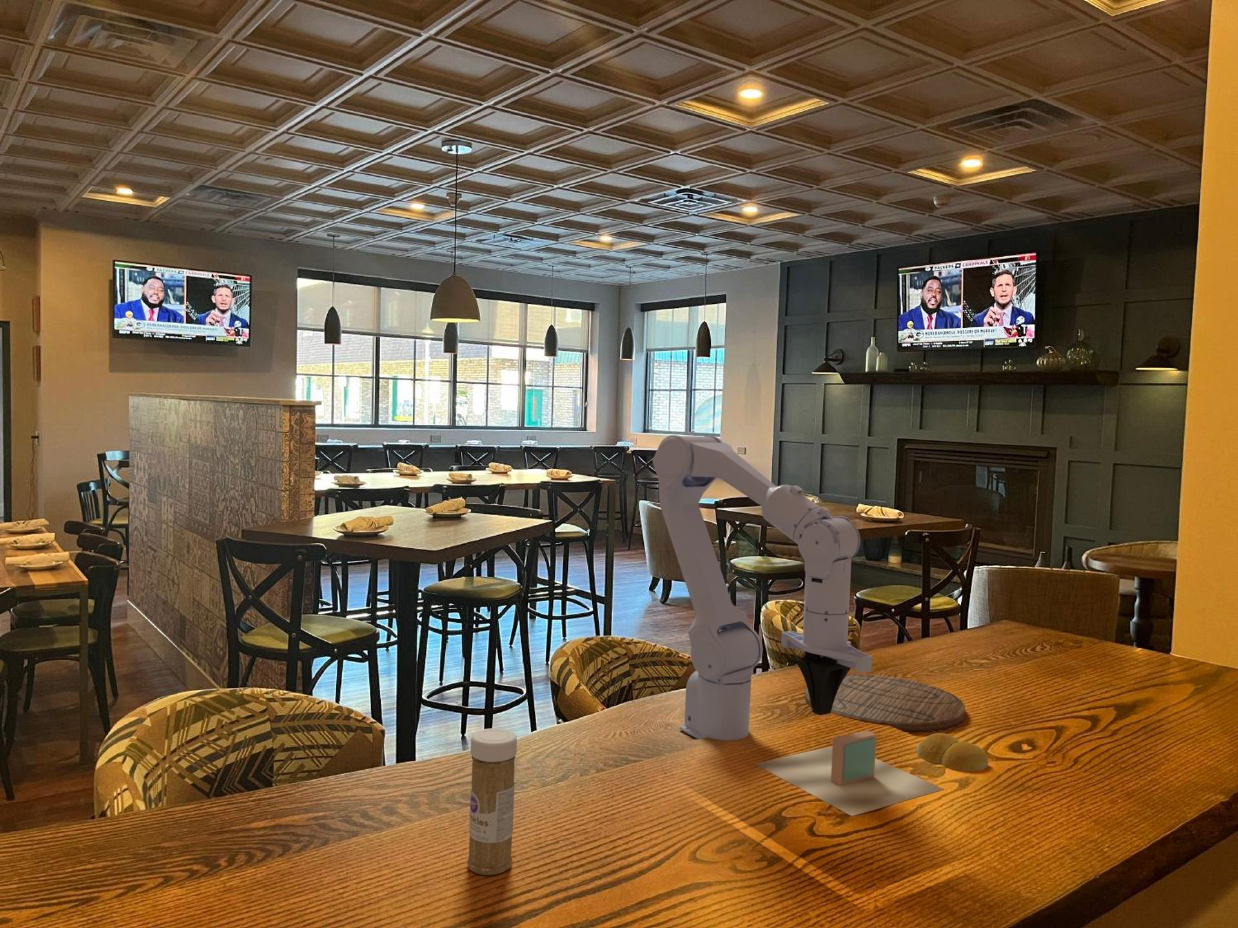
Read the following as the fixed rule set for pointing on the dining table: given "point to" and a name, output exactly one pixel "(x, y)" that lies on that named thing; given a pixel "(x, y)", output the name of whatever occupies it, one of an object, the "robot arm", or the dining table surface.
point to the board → (854, 797)
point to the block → (853, 757)
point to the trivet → (896, 703)
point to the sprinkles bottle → (492, 801)
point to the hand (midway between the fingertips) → (821, 712)
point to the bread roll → (952, 753)
